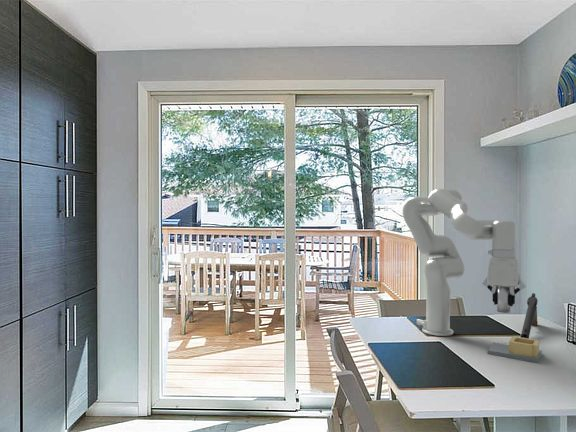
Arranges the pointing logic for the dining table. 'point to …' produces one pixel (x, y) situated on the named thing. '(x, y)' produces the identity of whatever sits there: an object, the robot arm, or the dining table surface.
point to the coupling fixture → (518, 349)
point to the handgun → (530, 316)
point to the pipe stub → (503, 299)
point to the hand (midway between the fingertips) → (503, 304)
